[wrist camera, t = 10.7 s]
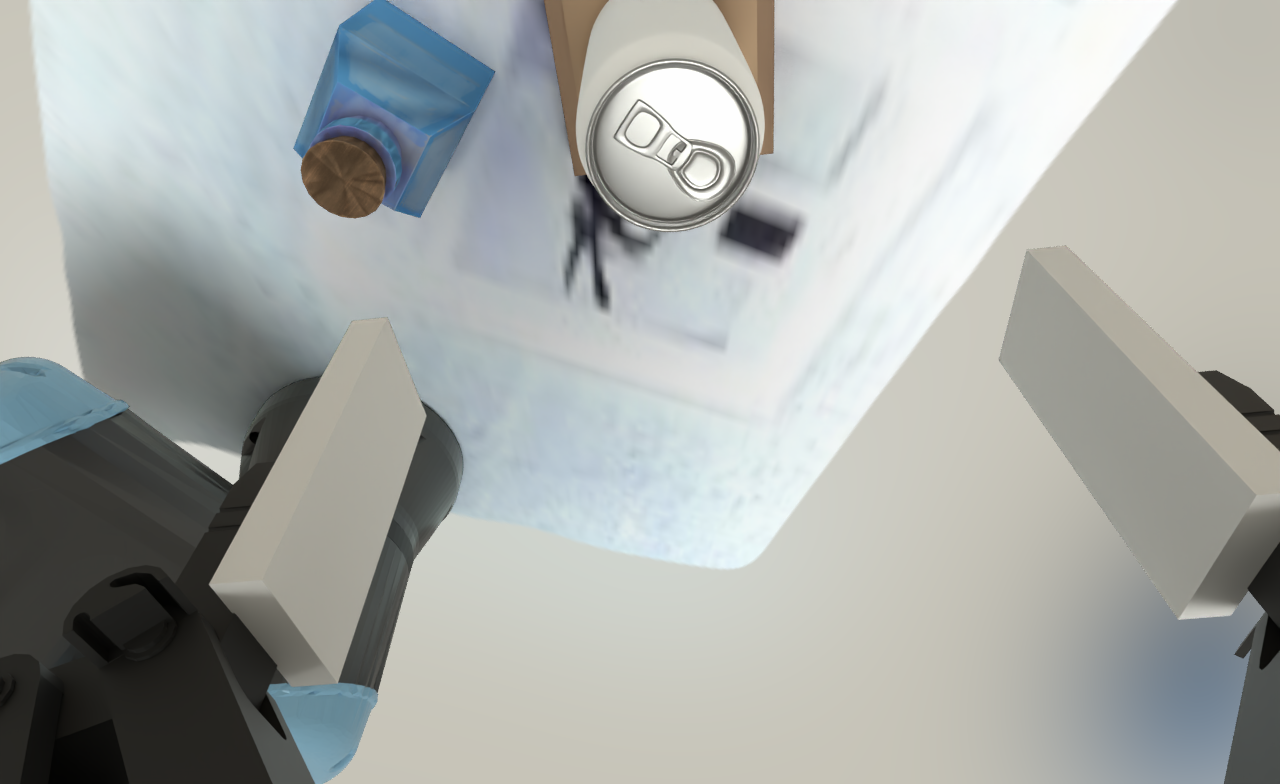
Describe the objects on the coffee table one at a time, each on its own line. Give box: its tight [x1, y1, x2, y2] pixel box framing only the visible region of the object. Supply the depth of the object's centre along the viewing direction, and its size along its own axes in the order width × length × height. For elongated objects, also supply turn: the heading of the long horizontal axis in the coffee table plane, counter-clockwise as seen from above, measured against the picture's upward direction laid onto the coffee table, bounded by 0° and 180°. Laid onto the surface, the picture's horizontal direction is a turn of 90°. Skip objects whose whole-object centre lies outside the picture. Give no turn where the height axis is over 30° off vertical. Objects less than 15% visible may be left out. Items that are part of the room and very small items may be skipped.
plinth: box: [544, 0, 774, 176], centre depth 34 cm, size 10×10×4 cm
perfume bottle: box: [293, 0, 495, 218], centre depth 32 cm, size 6×6×12 cm
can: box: [576, 0, 765, 232], centre depth 28 cm, size 6×6×12 cm
